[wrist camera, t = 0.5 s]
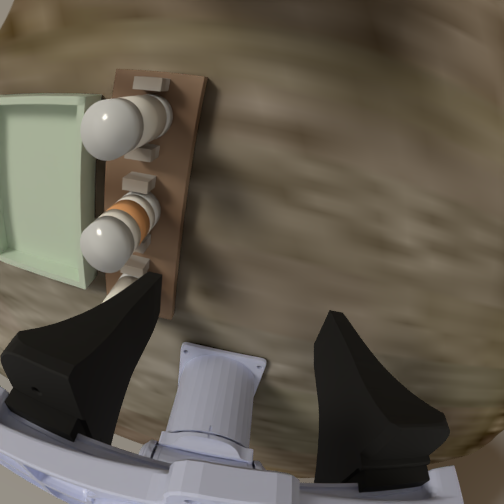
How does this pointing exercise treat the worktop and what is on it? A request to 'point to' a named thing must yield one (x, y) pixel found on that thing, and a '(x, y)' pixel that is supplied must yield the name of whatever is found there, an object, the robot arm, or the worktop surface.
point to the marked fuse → (119, 231)
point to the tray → (46, 185)
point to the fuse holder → (158, 175)
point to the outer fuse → (124, 124)
